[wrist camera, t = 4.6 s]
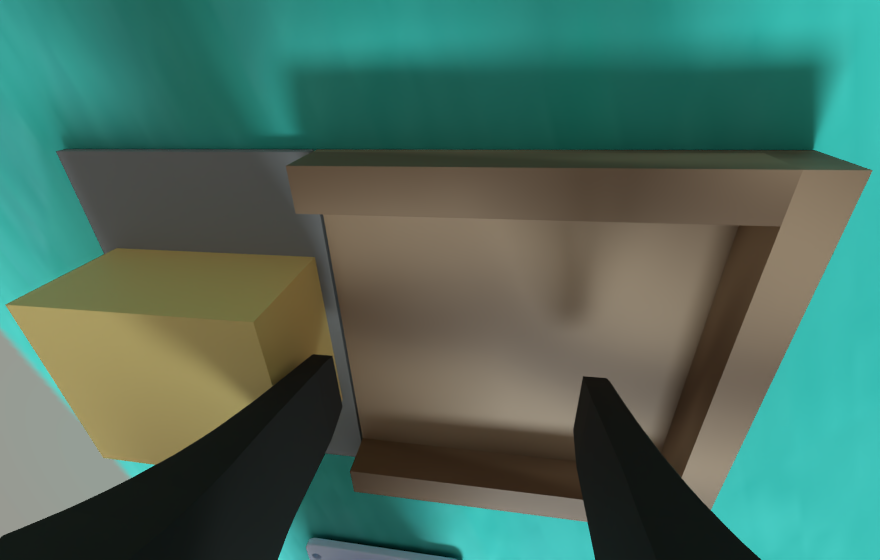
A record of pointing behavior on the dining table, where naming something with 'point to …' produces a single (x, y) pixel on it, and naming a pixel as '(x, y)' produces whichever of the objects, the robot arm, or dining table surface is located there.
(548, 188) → the brown wooden tray
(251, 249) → the mat
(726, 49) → the dining table surface
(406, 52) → the dining table surface
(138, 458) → the block
